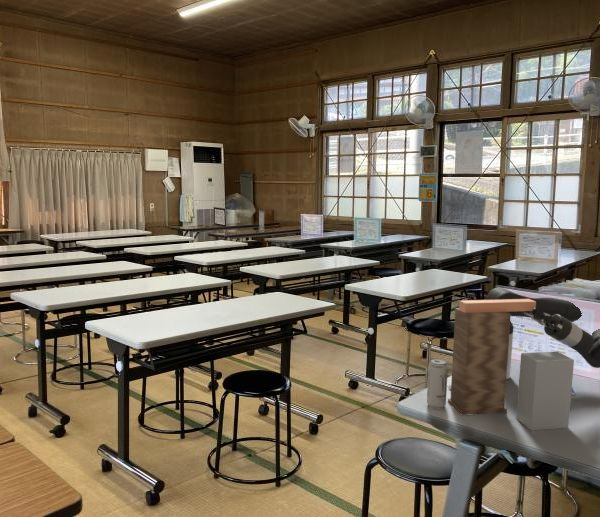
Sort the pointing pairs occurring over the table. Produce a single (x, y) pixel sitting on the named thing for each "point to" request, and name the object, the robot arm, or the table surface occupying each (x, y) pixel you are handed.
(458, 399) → the pedestal
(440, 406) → the energy drink can
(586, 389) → the table surface
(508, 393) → the table surface
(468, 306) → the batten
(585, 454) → the table surface
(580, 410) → the table surface
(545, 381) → the gray rectangular block
